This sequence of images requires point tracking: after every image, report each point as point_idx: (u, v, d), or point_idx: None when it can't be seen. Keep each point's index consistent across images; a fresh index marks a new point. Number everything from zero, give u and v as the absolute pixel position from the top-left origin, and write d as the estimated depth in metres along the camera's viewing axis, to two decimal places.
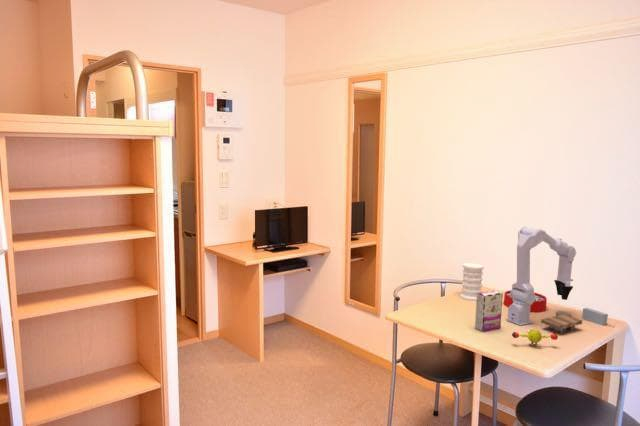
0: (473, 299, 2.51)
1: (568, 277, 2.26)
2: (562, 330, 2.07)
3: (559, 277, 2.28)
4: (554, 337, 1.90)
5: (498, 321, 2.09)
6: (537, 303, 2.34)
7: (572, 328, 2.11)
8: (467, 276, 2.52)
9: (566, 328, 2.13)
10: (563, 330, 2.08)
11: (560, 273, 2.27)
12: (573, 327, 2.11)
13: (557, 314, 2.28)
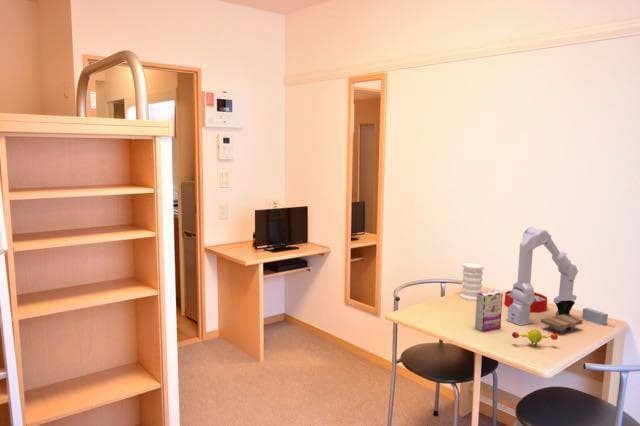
0: (473, 299, 2.51)
1: (564, 295, 2.23)
2: (562, 330, 2.07)
3: None
4: (554, 337, 1.90)
5: (498, 321, 2.09)
6: (537, 303, 2.34)
7: (572, 328, 2.11)
8: (467, 276, 2.52)
9: (566, 328, 2.13)
10: (563, 330, 2.08)
11: (559, 290, 2.26)
12: (573, 327, 2.11)
13: (557, 314, 2.28)
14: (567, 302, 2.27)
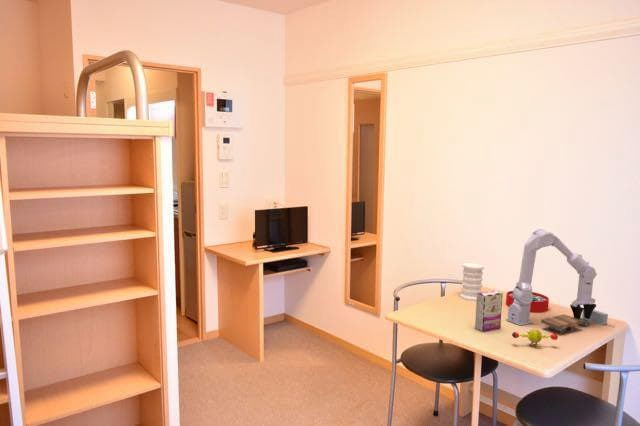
0: (473, 299, 2.51)
1: (583, 298, 2.15)
2: (562, 330, 2.07)
3: (577, 297, 2.19)
4: (554, 337, 1.90)
5: (498, 321, 2.09)
6: (539, 303, 2.34)
7: (572, 328, 2.11)
8: (467, 276, 2.52)
9: (566, 328, 2.13)
10: (563, 330, 2.08)
11: (577, 293, 2.19)
12: (573, 327, 2.11)
13: None
14: (588, 305, 2.20)
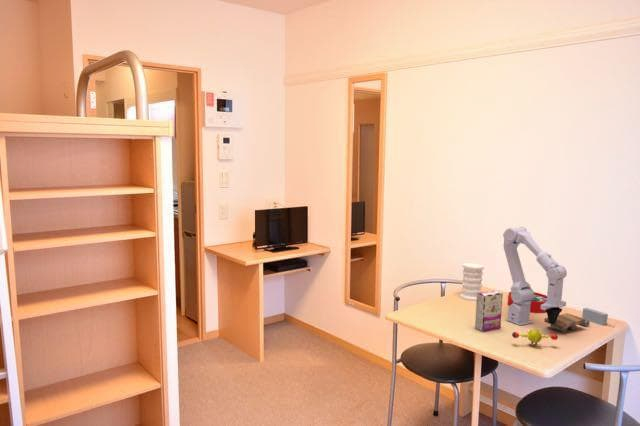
0: (473, 299, 2.51)
1: (552, 301, 2.04)
2: (564, 329, 2.08)
3: None
4: (554, 337, 1.90)
5: (498, 321, 2.09)
6: (541, 304, 2.33)
7: (573, 327, 2.11)
8: (467, 276, 2.52)
9: None
10: (564, 330, 2.08)
11: (547, 295, 2.08)
12: (574, 327, 2.11)
13: None
14: None
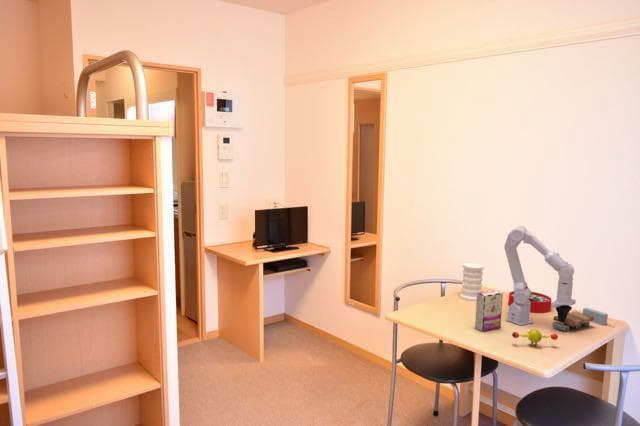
0: (473, 299, 2.51)
1: (563, 299, 2.08)
2: (566, 327, 2.09)
3: None
4: (554, 337, 1.90)
5: (498, 321, 2.09)
6: (542, 304, 2.33)
7: None
8: (467, 276, 2.52)
9: None
10: (566, 329, 2.09)
11: (557, 294, 2.11)
12: (578, 326, 2.13)
13: None
14: None
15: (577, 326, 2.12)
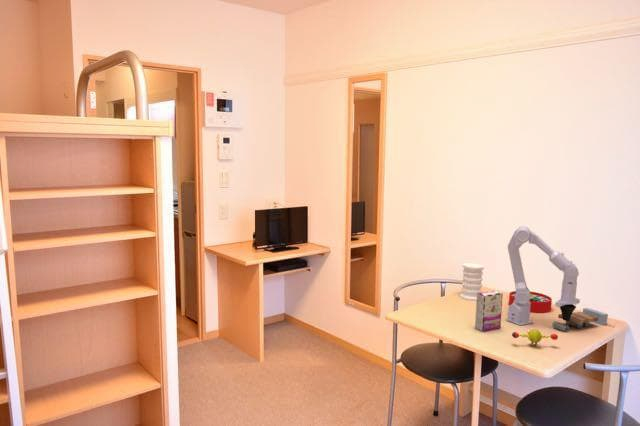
0: (473, 299, 2.51)
1: (567, 299, 2.09)
2: (566, 327, 2.09)
3: (561, 297, 2.13)
4: (554, 337, 1.90)
5: (498, 321, 2.09)
6: (542, 304, 2.33)
7: (581, 324, 2.14)
8: (467, 276, 2.52)
9: None
10: (566, 329, 2.09)
11: (561, 293, 2.13)
12: (580, 324, 2.13)
13: None
14: None
15: (580, 324, 2.13)
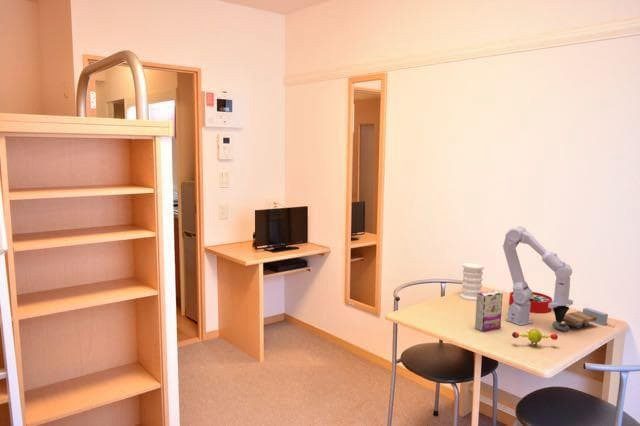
0: (473, 299, 2.51)
1: (560, 300, 2.07)
2: (566, 327, 2.09)
3: (554, 299, 2.11)
4: (554, 337, 1.90)
5: (498, 321, 2.09)
6: (543, 304, 2.33)
7: (580, 324, 2.14)
8: (467, 276, 2.52)
9: None
10: (566, 329, 2.09)
11: (554, 294, 2.10)
12: (579, 325, 2.13)
13: None
14: None
15: (578, 325, 2.13)
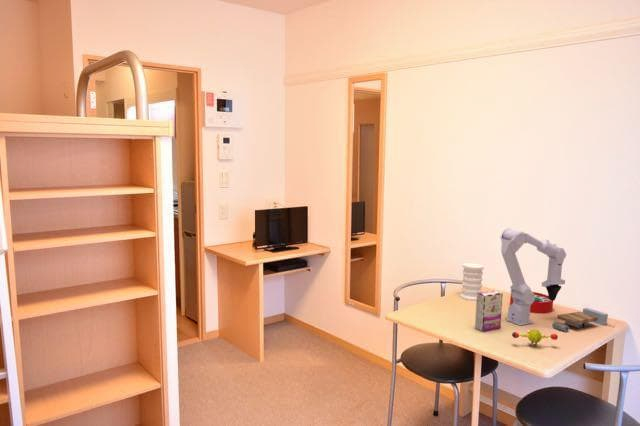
0: (473, 299, 2.51)
1: (553, 279, 2.20)
2: (566, 327, 2.09)
3: (547, 278, 2.24)
4: (554, 337, 1.90)
5: (498, 321, 2.09)
6: (544, 304, 2.33)
7: (580, 324, 2.14)
8: (467, 276, 2.52)
9: None
10: (566, 329, 2.09)
11: None
12: (579, 325, 2.13)
13: None
14: None
15: (578, 325, 2.13)
